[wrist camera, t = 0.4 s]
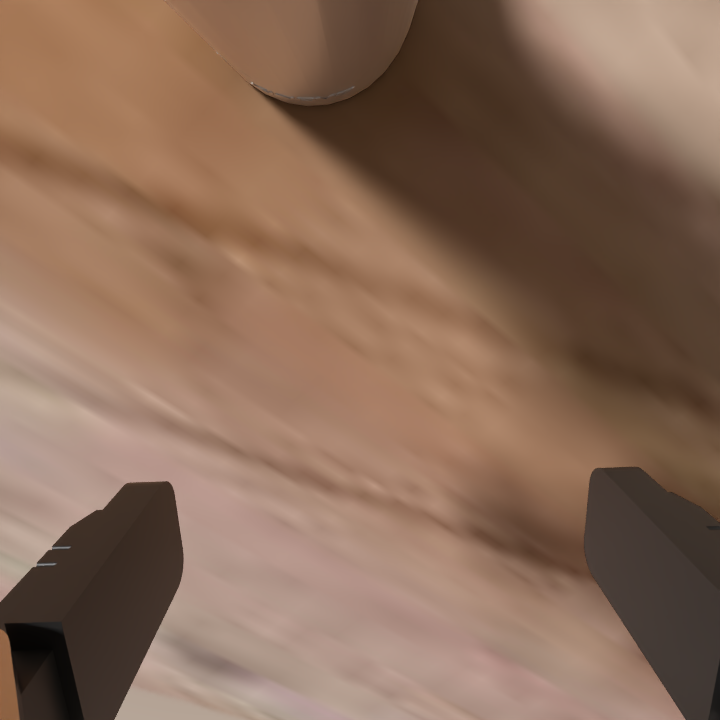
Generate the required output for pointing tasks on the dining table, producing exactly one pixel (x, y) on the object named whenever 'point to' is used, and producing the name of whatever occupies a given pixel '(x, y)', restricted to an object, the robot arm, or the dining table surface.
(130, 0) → the dining table surface
